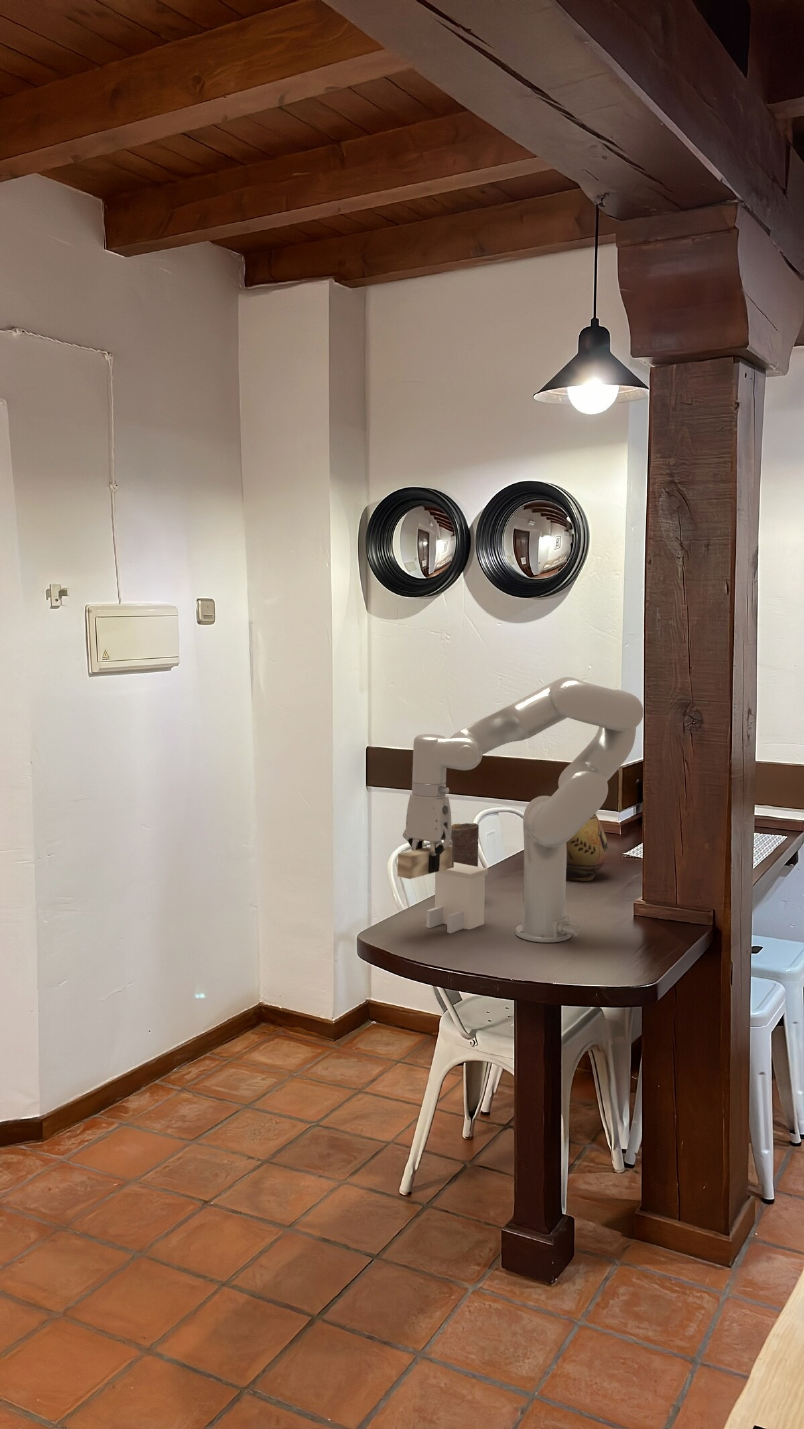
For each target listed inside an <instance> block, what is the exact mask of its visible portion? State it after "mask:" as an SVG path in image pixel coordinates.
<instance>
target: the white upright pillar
mask: <svg viewBox="0 0 804 1429" xmlns="http://www.w3.org/2000/svg"><path fill="white" fill-rule="evenodd" d="M434 874H435V876H434V907H433V908H430V909H428V910H426V928H427V929H432V928H434V927H437V926H440V925H443V924H444V925H446V932H447V933H448V934H453V933H455V932H458V931H460V930H473V929H475V928H478V927H480V926H483V925H484V924H485V892H486V889H485V887H486V884H485V882H486V875H489V868H487V867H480V866H478V867H476V866H471V865H466V864H461V863H455V862H454V867H453V868H450V869H446V870H442V871H438V872H435V873H434Z"/></svg>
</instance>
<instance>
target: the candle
mask: <svg viewBox="0 0 804 1429" xmlns="http://www.w3.org/2000/svg"><path fill="white" fill-rule="evenodd" d="M451 825H452V832H451V840H452V842H453V845H452V846H454V862H455V863H461V864H466V865H471V866H476V867H479V828H480V826H479V824H478V823H476V822H474V823H469V822H468V823H467V822H465V823H464V822H463V823H453V824H451Z"/></svg>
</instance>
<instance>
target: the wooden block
mask: <svg viewBox="0 0 804 1429" xmlns="http://www.w3.org/2000/svg"><path fill="white" fill-rule="evenodd" d="M436 847H437V846H436ZM429 855H431V849H430V846H425V847H423V848H421V849H417V850H413V851H412V850H409V851H405V852H401V853H397V873H396V874H397V876H396V877H397V878H398V877H399V878H403V879H407V880H411V879H416V878H419V877H423V876H427V875H431V874H432V873H429V872H428V869H429ZM453 867H454V846H450V847H448V848H446V849H445V850H444V851H443V852H442V854H440V867H439V871H442V870H446V869H450V868H453ZM433 874H435V872H434V873H433Z"/></svg>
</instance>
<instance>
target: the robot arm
mask: <svg viewBox="0 0 804 1429" xmlns="http://www.w3.org/2000/svg"><path fill="white" fill-rule="evenodd" d="M567 718H568V719H571V720H574V721H578V722H581V723H584V724H588V725H593V726H596V727H598V729H597V732H596V734H595V736H594V737H593V738H592V740H591V741H590V742H589V743H588V744H587V746H586V747H585V748H584V749H583V750H582V751H581V752H580V753H579V754H578V755H577V756H576V758H575V759H574V760H573V761H572V762H570V764H568V765H567V766H566V767H565V768H564V770H562V772H561V773H560V775H559V778H558V782H557V784H558V788H557V789H556V791H555V792H554V793H553V794H552V795H551V796H550V795H540V796H539V795H538V796H537V797H535V798H533V799H531V800H530V801H529V803H528V804H527V805H526V807H525V809H524V812H523V819H522V828H523V881H522V882H523V883H522V884H523V887H522V888H523V892H522V923H521V924H519V925H517V926H516V927H515V932H514V933H515V935H516V936H517V937H519V938H520V939H523V940H527V941H528V942H529V941H530V942H537V943H558V942H565V941H567V940H570V939H571V937H572V936H575V937H576V936H578V934H579V930H580V927H579V924H575V923H571V922H570V916H569V915H568V916H567V915H566V889H567V888H566V886H567V884H566V883H567V881H566V880H567V879H566V861H567V851H566V842H567V841H569V840H570V839H571V838H572V837H573V836H574V835H575V834H576V833H577V832H578V831H579V830H580V829H581V828H582V827H583V826H584V825H585V824H586V822H587V821H588V820H589V819H590V818H591V817H592V816H593V815H594V814H597V812H598V811H599V810H600V809H601V807H602V806H603V804H604V803H605V802H606V799H607V796H608V794H609V785H608V781H609V780H610V779H611V777H613V775H614V774H615V773H617V771H618V770H619V768H620V767H621V766H622V765H623V764H624V762H625V761H626V760H627V759H628V757H629V755H630V754H631V752H632V750H633V747H634V745H635V740H636V732H637V727H638V726H639V725H640V723H642V720H643V718H644V706H643V704H642V702H641V700H640V699H639V698H638V697H637V696H636V695H634V694H632V693H630V692H627V691H625V690H621V689H612V688H608V687H603V686H599V685H596V684H593V683H589V682H586V681H582V680H580V679H578V678H574V677H571V676H568V677H567V676H565V677H560V678H559V679H556V680H554V681H553V682H551V683H549V684H547V685H545V686H543V687H541V688H540V689H538V690H535V691H533V692H532V693H530V694H529V695H526V696H524V697H523V698H521V699H519V700H517V701H516V702H513V703H511V704H509V705H507V706H505V707H503V708H501V709H500V710H498V711H495V712H494V713H492V714H489V715H487V716H485V717H483V718H482V719H479V720H477V721H475V722H474V723H471V724H470V725H468V726H466V727H464V728H462V729H461V730H459V731H457V732H455V733H454V734H453V735H452V736H450V737H445V736H444V735H440V734H435V733H434V734H433V733H432V734H431V733H428V734H427V733H426V734H425V733H424V734H423V733H422V734H419V735H416V736H415V737H414V740H413V747H412V752H413V754H412V779H411V780H412V781H411V784H412V785H411V794H410V795H409V798H408V802H407V808H406V809H407V810H406V818H405V829H404V831H403V832H402V837H403V839H405V840H406V842H408V844H409V846H410V848H411V851H413V850H417V849H421V848H424V844H425V842H429V844H430V845H429V847H430V849H431V855H429V869H428V872H429V873H431V874H435V873H434V872H438V871H439V867H440V854H442V852H443V851H444V850H445V849H446V848H448V847H450V846H452V845H453V842H452V840H451V832H452V825H453V824H452V812H451V804H450V803H451V802H450V799H449V797H448V796H447V795H448V794H449V793H450V789H449V787H447V769H454V770H457V771H458V770H459V771H469V770H473V769H475V768H476V767H477V766H478V765H479V764H480V763H481V761H482V760H483V759H482V758H483V755H485V754H487V753H489V752H490V751H492V750H493V751H494V750H495V749H496V748H499V747H501V746H503V745H506V744H509V743H512V742H521V741H524V740H527V739H530V738H532V737H534V736H536V735H537V734H540V733H542V732H543V731H545V730H547V729H549V728H551V727H553V726H554V725H556V724H558V723H560V722H562V721H564V720H566V719H567ZM446 794H447V795H446ZM436 846H437V847H436Z"/></svg>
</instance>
